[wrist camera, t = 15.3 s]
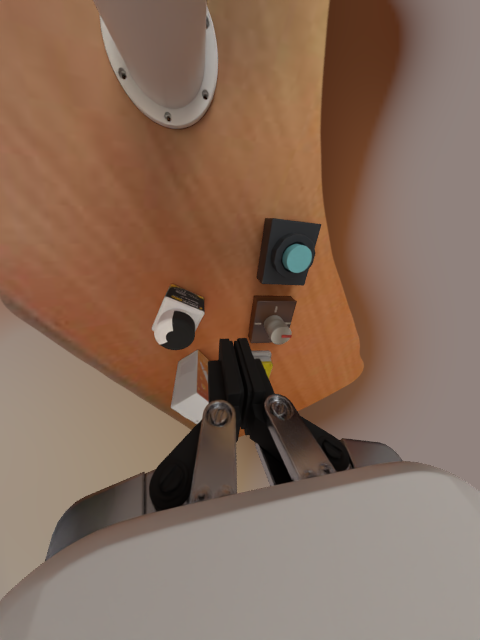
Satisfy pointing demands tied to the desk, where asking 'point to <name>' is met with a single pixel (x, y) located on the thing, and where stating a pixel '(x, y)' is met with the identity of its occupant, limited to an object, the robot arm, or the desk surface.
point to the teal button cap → (297, 258)
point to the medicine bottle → (178, 318)
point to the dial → (277, 329)
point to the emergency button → (264, 360)
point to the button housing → (274, 245)
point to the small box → (191, 387)
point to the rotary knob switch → (266, 308)
